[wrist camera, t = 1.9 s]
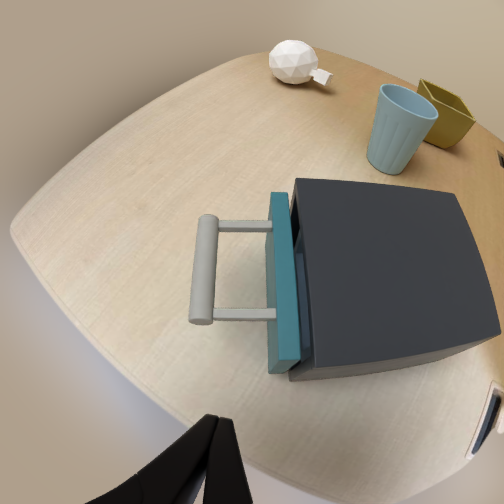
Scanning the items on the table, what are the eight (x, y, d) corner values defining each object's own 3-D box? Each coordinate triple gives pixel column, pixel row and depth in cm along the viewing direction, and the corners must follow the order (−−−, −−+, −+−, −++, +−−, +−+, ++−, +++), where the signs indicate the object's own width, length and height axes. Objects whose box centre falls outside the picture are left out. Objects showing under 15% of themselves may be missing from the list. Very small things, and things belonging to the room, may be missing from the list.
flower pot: (443, 132, 41) (460, 96, 33) (455, 160, 36) (477, 121, 28) (404, 116, 41) (419, 77, 34) (413, 143, 37) (432, 98, 29)
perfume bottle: (252, 74, 43) (311, 101, 40) (268, 30, 36) (332, 55, 34) (275, 73, 48) (327, 98, 46) (290, 35, 42) (345, 59, 40)
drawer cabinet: (289, 381, 21) (314, 367, 13) (282, 245, 27) (295, 177, 19) (437, 360, 21) (501, 333, 13) (412, 246, 27) (454, 193, 19)
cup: (415, 186, 32) (448, 125, 23) (364, 176, 32) (390, 107, 23) (401, 150, 36) (425, 94, 27) (355, 140, 36) (373, 78, 27)
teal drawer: (204, 372, 20) (183, 357, 14) (211, 245, 26) (200, 189, 19) (419, 357, 20) (472, 334, 14) (396, 246, 26) (431, 200, 20)
